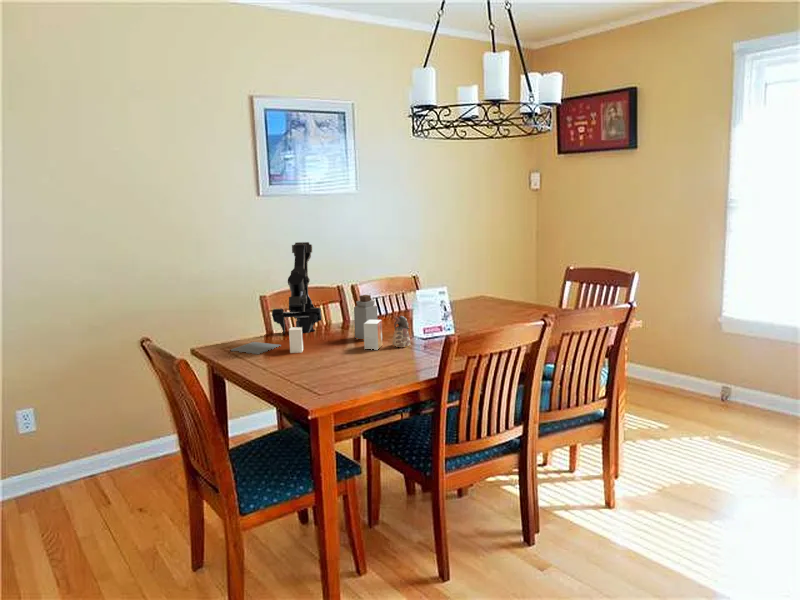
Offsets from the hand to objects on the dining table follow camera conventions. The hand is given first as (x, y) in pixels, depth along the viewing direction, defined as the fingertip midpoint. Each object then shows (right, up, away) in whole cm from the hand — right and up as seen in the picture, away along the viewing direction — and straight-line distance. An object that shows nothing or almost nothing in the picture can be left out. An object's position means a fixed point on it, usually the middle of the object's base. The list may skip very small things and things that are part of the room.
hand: (296, 333), depth 244 cm
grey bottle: (+26, -3, +19) cm, 33 cm away
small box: (+30, -6, +3) cm, 30 cm away
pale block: (0, -7, +1) cm, 7 cm away
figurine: (+41, -5, +5) cm, 41 cm away
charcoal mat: (-17, -6, +6) cm, 19 cm away
